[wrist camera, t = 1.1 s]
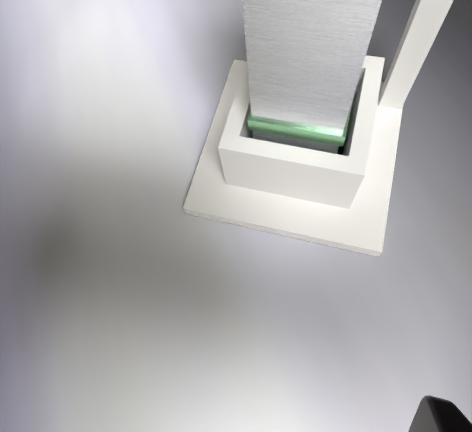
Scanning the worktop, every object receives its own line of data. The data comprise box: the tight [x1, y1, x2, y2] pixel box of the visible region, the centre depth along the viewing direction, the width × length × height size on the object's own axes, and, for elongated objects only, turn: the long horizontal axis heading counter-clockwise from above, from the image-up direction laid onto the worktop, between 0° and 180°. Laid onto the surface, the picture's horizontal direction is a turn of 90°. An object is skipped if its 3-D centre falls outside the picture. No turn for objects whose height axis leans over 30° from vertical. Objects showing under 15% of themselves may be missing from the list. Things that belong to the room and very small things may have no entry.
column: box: [243, 0, 382, 154], centre depth 17 cm, size 4×4×13 cm
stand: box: [183, 0, 453, 257], centre depth 18 cm, size 10×11×10 cm
